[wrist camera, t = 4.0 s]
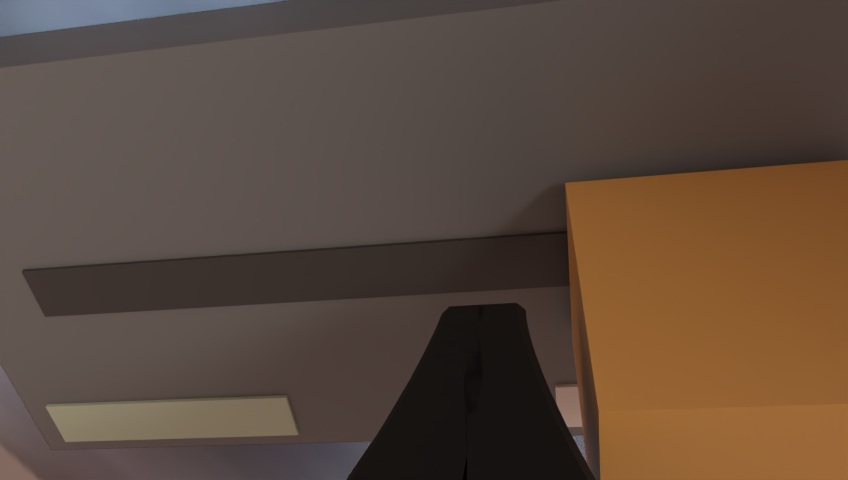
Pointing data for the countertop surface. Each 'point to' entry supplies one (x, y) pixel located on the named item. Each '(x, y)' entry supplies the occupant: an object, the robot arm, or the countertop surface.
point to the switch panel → (350, 191)
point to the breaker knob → (712, 323)
